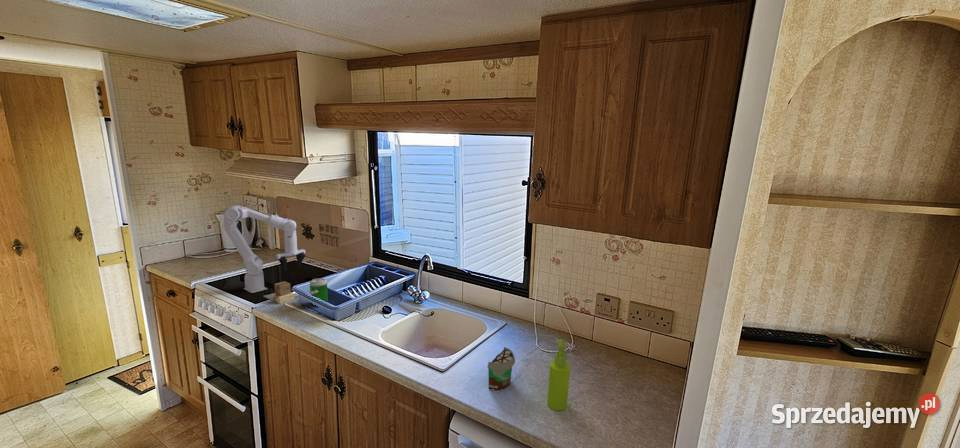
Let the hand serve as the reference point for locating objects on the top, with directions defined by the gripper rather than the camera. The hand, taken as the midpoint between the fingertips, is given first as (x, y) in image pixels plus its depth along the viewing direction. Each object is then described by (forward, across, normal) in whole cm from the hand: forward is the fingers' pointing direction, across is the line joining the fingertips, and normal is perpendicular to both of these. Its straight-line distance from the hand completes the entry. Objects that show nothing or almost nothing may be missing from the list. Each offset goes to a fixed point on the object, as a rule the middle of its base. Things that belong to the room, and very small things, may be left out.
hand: (292, 269), depth 208 cm
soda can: (+10, -4, -30) cm, 32 cm away
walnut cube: (+6, -12, -14) cm, 19 cm away
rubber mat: (+10, -11, -10) cm, 18 cm away
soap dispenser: (+10, -1, -151) cm, 151 cm away
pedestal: (+9, -12, -14) cm, 21 cm away
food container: (+10, -3, -133) cm, 133 cm away
